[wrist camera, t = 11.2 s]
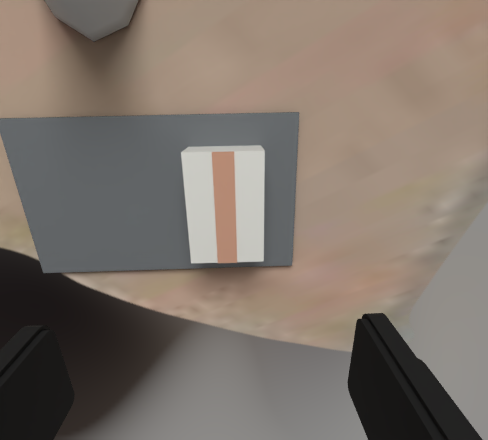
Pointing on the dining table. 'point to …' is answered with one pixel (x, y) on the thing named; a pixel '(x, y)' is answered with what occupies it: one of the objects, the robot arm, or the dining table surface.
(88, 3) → the flask
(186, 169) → the card deck
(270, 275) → the dining table surface
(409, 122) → the dining table surface
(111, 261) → the mat
